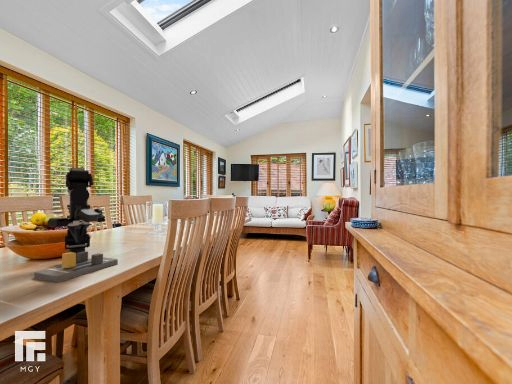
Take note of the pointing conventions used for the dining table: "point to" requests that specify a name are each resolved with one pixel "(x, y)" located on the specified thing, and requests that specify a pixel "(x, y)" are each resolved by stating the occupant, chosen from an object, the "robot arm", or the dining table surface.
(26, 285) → the dining table surface
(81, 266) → the panel
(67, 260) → the toggle
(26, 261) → the dining table surface
